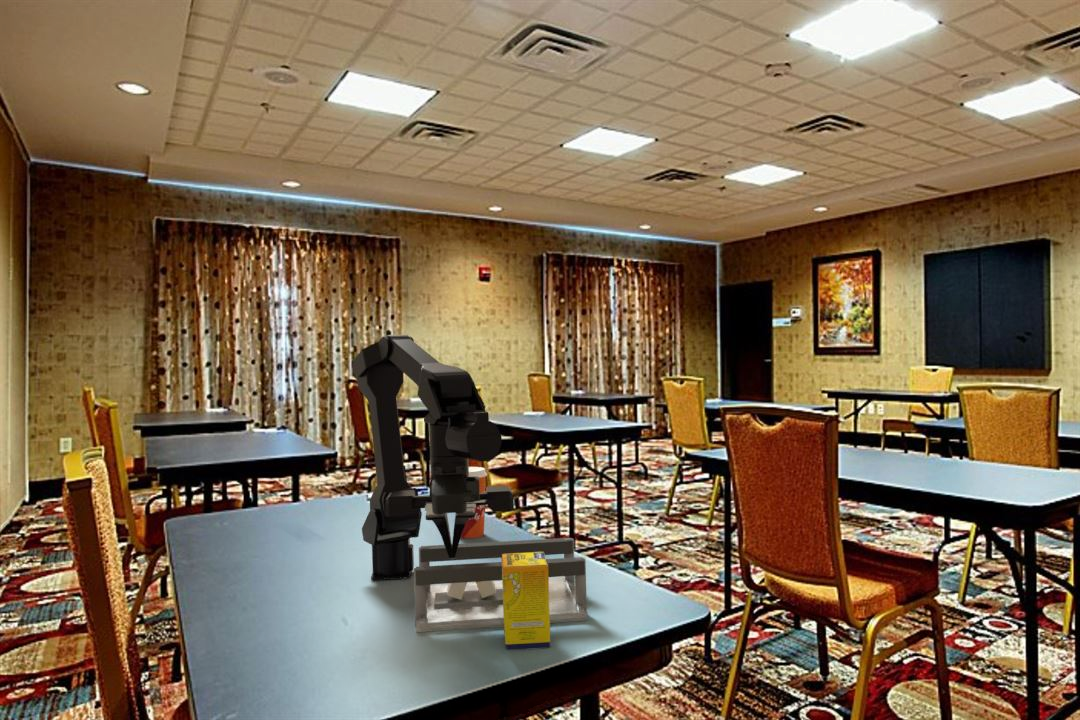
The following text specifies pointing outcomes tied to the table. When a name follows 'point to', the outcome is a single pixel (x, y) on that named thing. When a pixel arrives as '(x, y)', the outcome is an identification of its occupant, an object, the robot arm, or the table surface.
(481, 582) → the paddle
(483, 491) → the paper cup
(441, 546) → the gray bar rack
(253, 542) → the table surface
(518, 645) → the supplement box
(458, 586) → the paddle on
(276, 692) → the table surface
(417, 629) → the panel
